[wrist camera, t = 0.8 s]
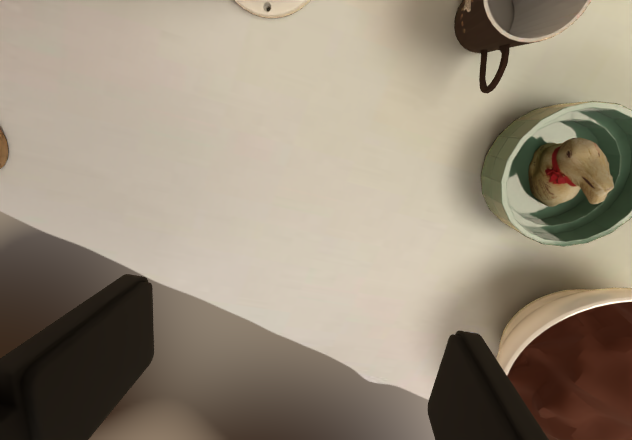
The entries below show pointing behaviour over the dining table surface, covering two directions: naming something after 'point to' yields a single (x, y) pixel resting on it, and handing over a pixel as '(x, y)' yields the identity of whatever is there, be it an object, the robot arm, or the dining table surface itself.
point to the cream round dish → (574, 362)
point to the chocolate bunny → (569, 172)
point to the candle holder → (3, 150)
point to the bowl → (578, 214)
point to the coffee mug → (511, 26)
